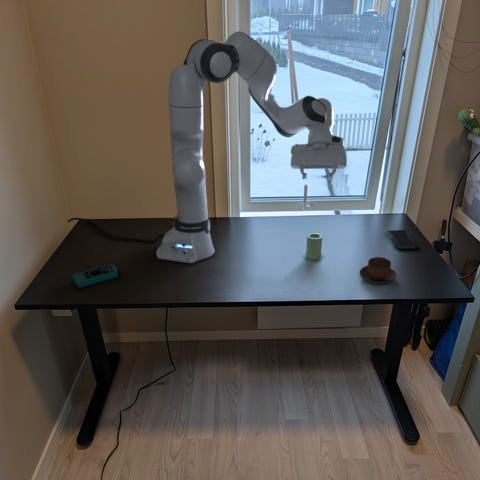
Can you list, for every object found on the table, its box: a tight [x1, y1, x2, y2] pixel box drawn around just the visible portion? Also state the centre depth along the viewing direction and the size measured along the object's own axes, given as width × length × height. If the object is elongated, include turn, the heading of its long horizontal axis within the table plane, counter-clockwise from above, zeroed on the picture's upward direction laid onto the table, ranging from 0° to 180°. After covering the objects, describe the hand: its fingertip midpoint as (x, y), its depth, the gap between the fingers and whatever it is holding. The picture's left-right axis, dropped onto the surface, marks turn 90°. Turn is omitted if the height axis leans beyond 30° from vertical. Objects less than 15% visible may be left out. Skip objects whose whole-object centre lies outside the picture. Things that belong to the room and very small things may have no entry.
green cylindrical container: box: [305, 232, 323, 261], centre depth 170 cm, size 5×5×8 cm
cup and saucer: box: [359, 256, 397, 285], centre depth 156 cm, size 12×12×6 cm
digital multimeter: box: [72, 263, 119, 289], centre depth 163 cm, size 7×15×3 cm, turn 122°
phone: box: [386, 229, 418, 251], centre depth 180 cm, size 8×1×15 cm
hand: (317, 178), depth 167 cm, fingers open, 8 cm apart
